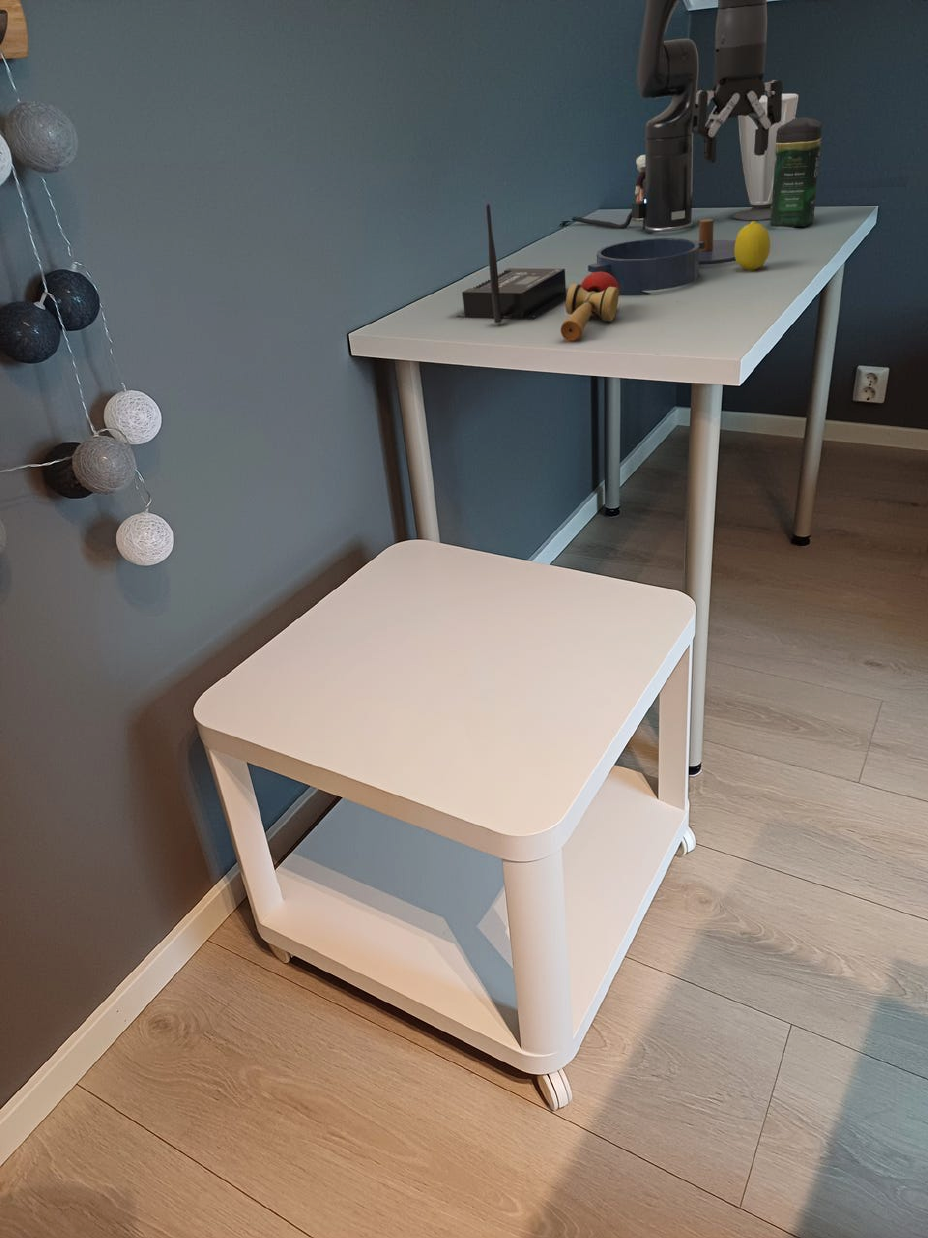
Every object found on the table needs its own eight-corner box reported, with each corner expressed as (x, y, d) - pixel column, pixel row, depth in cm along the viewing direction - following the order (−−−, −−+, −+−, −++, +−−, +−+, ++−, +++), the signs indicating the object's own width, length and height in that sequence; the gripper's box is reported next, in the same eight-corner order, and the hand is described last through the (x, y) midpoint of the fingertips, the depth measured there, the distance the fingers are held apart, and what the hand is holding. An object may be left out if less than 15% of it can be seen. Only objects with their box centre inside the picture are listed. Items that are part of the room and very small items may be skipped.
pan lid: (636, 259, 172) (636, 224, 169) (711, 242, 178) (712, 207, 175) (698, 272, 159) (699, 234, 156) (777, 253, 165) (780, 215, 162)
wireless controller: (501, 291, 162) (492, 183, 153) (575, 292, 156) (570, 179, 147) (442, 323, 148) (428, 206, 139) (522, 326, 141) (513, 203, 132)
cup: (759, 222, 189) (765, 100, 178) (720, 217, 198) (724, 100, 187) (802, 212, 193) (811, 92, 182) (763, 207, 202) (769, 93, 191)
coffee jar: (809, 228, 179) (819, 119, 169) (766, 229, 182) (773, 122, 173) (816, 218, 186) (826, 113, 177) (775, 220, 190) (782, 116, 180)
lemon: (728, 271, 157) (730, 220, 153) (761, 267, 157) (764, 216, 153) (739, 278, 152) (742, 225, 148) (773, 274, 152) (776, 221, 148)
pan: (565, 287, 159) (563, 255, 157) (669, 263, 167) (669, 231, 164) (622, 303, 147) (622, 268, 144) (732, 276, 154) (733, 241, 151)
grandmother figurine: (640, 215, 210) (640, 152, 203) (657, 214, 208) (657, 151, 202) (629, 222, 204) (629, 158, 198) (647, 221, 203) (646, 156, 196)
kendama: (604, 350, 131) (633, 298, 144) (593, 306, 128) (624, 257, 140) (552, 359, 135) (585, 307, 147) (540, 317, 131) (575, 268, 144)
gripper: (770, 35, 147) (763, 150, 156) (686, 47, 145) (683, 162, 154) (796, 35, 141) (787, 154, 150) (708, 47, 139) (704, 167, 148)
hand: (734, 158), depth 152 cm, fingers open, 8 cm apart
